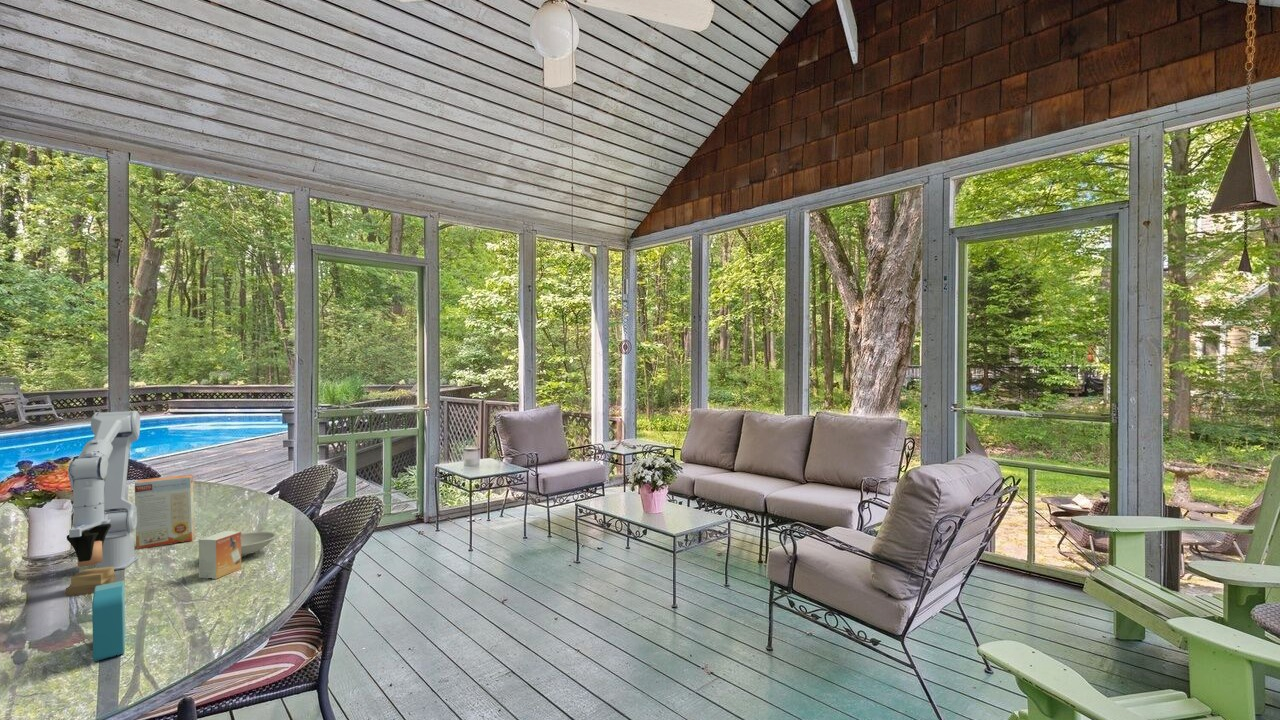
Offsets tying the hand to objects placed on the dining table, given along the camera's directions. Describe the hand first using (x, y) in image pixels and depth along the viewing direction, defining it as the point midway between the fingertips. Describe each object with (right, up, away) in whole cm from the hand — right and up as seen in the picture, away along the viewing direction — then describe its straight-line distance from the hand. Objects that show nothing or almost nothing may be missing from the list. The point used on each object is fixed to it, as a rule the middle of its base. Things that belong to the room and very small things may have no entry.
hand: (90, 557), depth 148 cm
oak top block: (0, -6, 0) cm, 6 cm away
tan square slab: (0, -9, 0) cm, 9 cm away
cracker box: (-11, -8, +37) cm, 39 cm away
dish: (+23, -8, +23) cm, 34 cm away
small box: (+26, -8, +10) cm, 29 cm away
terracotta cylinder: (0, -1, 0) cm, 1 cm away
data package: (+33, -8, -31) cm, 46 cm away
